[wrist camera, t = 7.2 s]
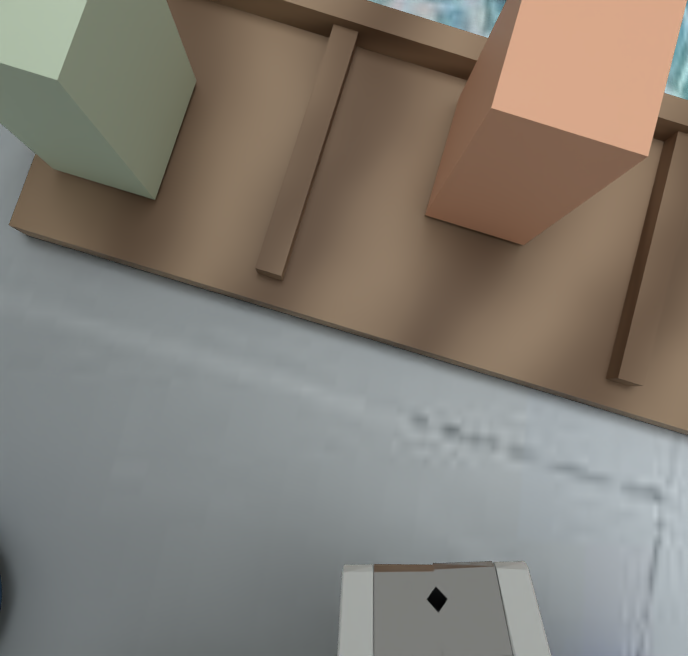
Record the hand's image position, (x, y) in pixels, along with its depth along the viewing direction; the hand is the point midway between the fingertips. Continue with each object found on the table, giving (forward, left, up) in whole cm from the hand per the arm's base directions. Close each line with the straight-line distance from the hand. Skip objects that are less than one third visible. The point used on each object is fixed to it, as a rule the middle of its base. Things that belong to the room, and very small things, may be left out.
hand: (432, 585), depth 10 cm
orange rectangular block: (+1, +13, -12) cm, 18 cm away
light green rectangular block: (-13, +10, -12) cm, 21 cm away
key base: (+1, +11, -14) cm, 18 cm away
